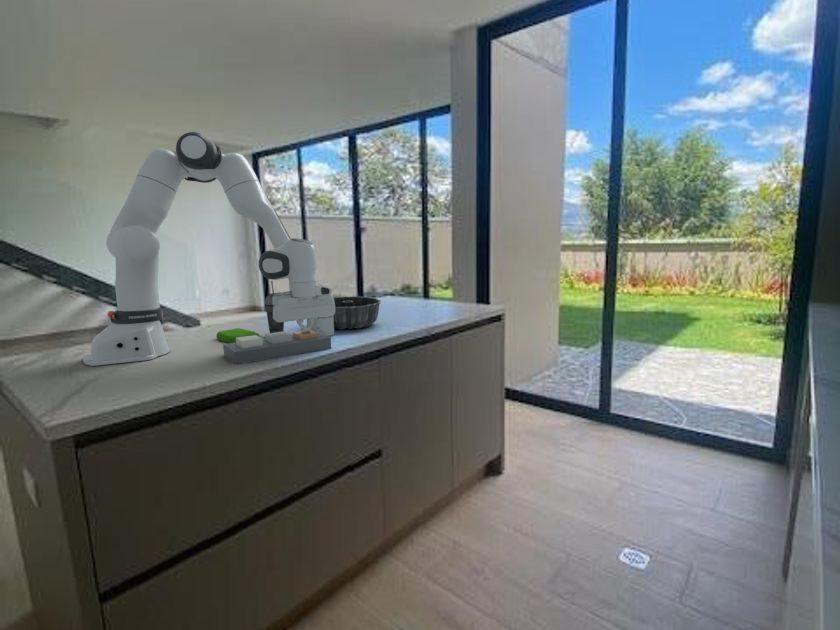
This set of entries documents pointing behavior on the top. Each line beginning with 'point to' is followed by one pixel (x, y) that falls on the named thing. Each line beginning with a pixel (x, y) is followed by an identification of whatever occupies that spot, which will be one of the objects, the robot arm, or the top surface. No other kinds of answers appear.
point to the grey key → (278, 337)
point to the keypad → (275, 349)
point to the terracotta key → (305, 335)
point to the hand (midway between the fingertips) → (305, 332)
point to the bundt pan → (355, 312)
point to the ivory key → (249, 341)
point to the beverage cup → (272, 323)
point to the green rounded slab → (234, 334)
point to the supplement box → (323, 325)
